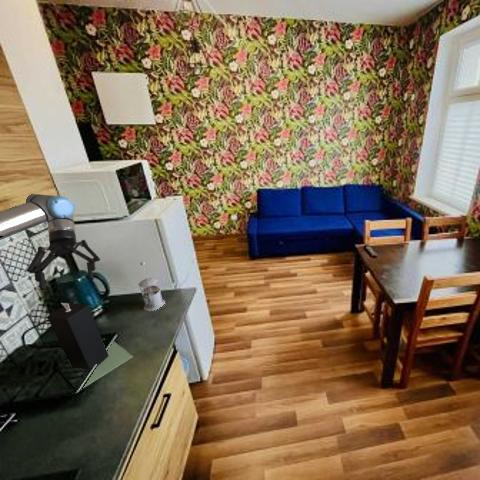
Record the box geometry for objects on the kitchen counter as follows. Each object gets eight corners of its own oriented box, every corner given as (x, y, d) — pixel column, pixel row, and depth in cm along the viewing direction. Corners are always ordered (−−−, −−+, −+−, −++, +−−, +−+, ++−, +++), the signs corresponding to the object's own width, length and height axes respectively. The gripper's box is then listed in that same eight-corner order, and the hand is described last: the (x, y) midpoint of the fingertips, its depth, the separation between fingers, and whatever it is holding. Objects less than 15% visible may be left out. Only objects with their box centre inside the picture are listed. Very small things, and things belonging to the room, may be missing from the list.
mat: (54, 367, 101) (54, 366, 101) (109, 337, 115) (108, 337, 115) (77, 392, 91) (76, 391, 91) (133, 356, 106) (132, 356, 105)
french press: (151, 313, 130) (138, 268, 120) (137, 307, 135) (122, 263, 125) (169, 302, 138) (158, 259, 129) (155, 296, 143) (143, 255, 133)
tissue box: (92, 353, 106) (66, 295, 96) (109, 356, 105) (85, 297, 95) (72, 370, 99) (42, 308, 88) (91, 372, 98) (63, 310, 87)
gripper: (104, 231, 113) (112, 277, 107) (23, 243, 101) (26, 296, 95) (99, 223, 107) (106, 271, 101) (11, 235, 95) (14, 291, 89)
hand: (67, 283), depth 98 cm, fingers open, 13 cm apart
